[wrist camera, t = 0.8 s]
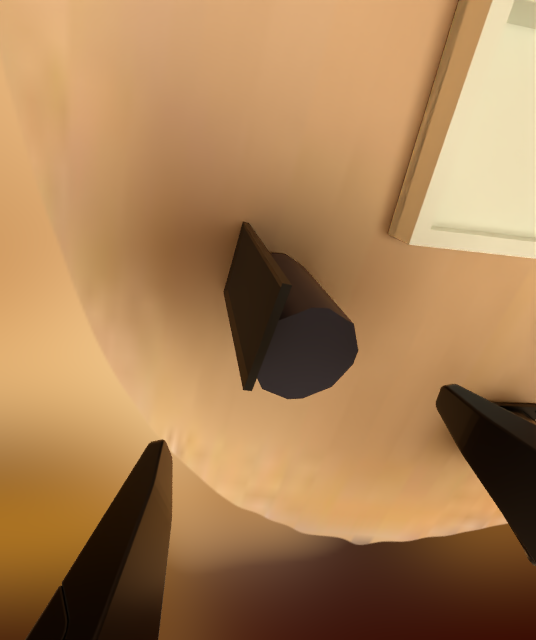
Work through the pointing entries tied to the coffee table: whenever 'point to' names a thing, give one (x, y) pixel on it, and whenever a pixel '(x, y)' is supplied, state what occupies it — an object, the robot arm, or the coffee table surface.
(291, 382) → the speaker
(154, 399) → the coffee table surface
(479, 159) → the tray
